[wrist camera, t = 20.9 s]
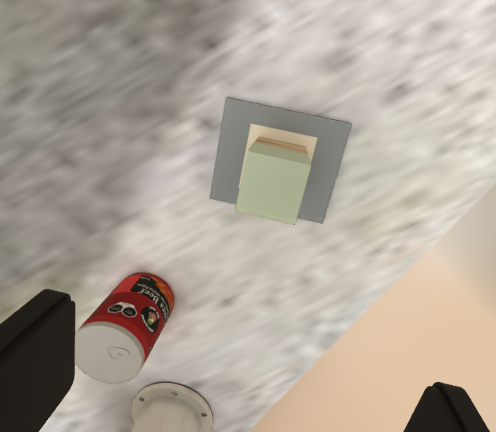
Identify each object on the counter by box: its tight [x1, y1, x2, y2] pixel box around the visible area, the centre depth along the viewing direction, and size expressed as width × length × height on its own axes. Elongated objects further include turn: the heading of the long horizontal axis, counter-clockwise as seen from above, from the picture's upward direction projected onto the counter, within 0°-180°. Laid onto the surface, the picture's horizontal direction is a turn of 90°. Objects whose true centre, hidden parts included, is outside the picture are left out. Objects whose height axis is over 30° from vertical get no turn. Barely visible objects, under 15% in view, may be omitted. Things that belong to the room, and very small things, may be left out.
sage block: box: [235, 142, 311, 225], centre depth 29 cm, size 5×5×5 cm
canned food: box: [75, 274, 174, 383], centre depth 40 cm, size 8×8×11 cm
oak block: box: [255, 136, 308, 154], centre depth 34 cm, size 5×5×5 cm
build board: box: [210, 97, 352, 224], centre depth 37 cm, size 11×13×1 cm
